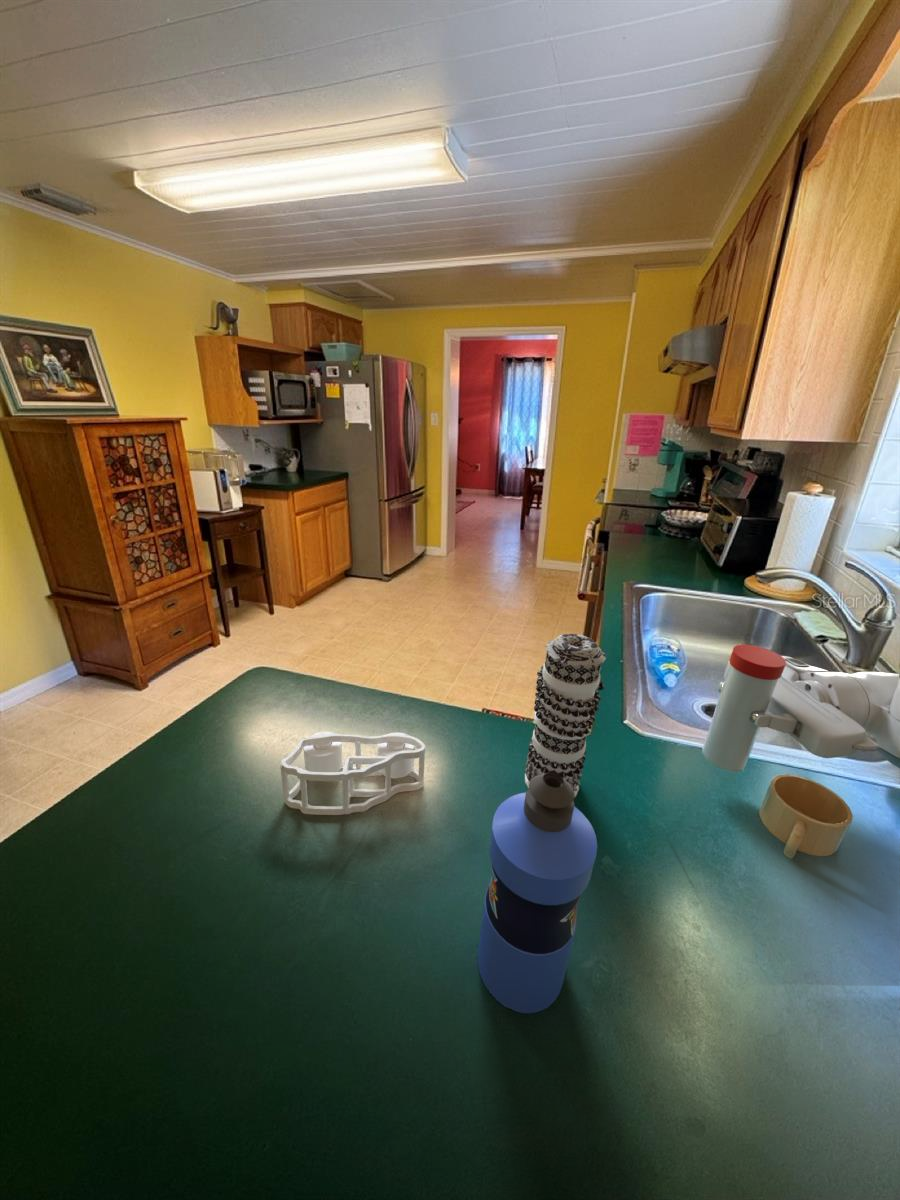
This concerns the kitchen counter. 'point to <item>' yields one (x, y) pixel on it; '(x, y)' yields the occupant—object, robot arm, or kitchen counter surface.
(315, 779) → the white open frame caddy
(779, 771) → the kitchen counter surface
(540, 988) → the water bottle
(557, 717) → the decorative candle
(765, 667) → the jar
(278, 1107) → the kitchen counter surface
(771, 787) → the mug
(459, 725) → the kitchen counter surface
